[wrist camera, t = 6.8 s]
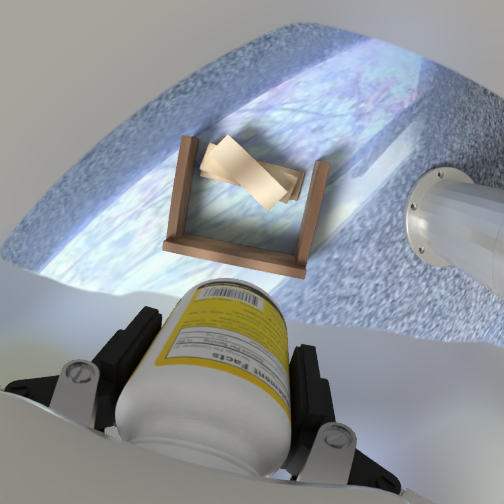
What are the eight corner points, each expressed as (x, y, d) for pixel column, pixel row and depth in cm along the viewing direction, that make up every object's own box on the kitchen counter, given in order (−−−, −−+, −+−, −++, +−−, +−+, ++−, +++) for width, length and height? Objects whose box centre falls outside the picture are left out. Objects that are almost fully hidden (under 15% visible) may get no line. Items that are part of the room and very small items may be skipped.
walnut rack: (323, 163, 32) (332, 163, 28) (300, 265, 35) (304, 279, 31) (190, 137, 32) (179, 134, 28) (174, 239, 35) (162, 250, 31)
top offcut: (286, 191, 31) (287, 192, 30) (267, 209, 32) (267, 211, 31) (229, 135, 30) (227, 134, 29) (211, 154, 31) (208, 154, 30)
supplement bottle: (218, 384, 15) (173, 547, 6) (155, 307, 14) (41, 460, 5) (308, 344, 14) (327, 537, 5) (247, 252, 13) (181, 443, 4)
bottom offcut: (303, 172, 33) (304, 173, 32) (295, 199, 34) (296, 200, 33) (209, 148, 33) (206, 148, 32) (202, 175, 34) (200, 176, 33)
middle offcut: (296, 177, 32) (298, 177, 31) (286, 202, 33) (286, 203, 32) (211, 143, 32) (209, 142, 30) (201, 168, 33) (199, 168, 31)
